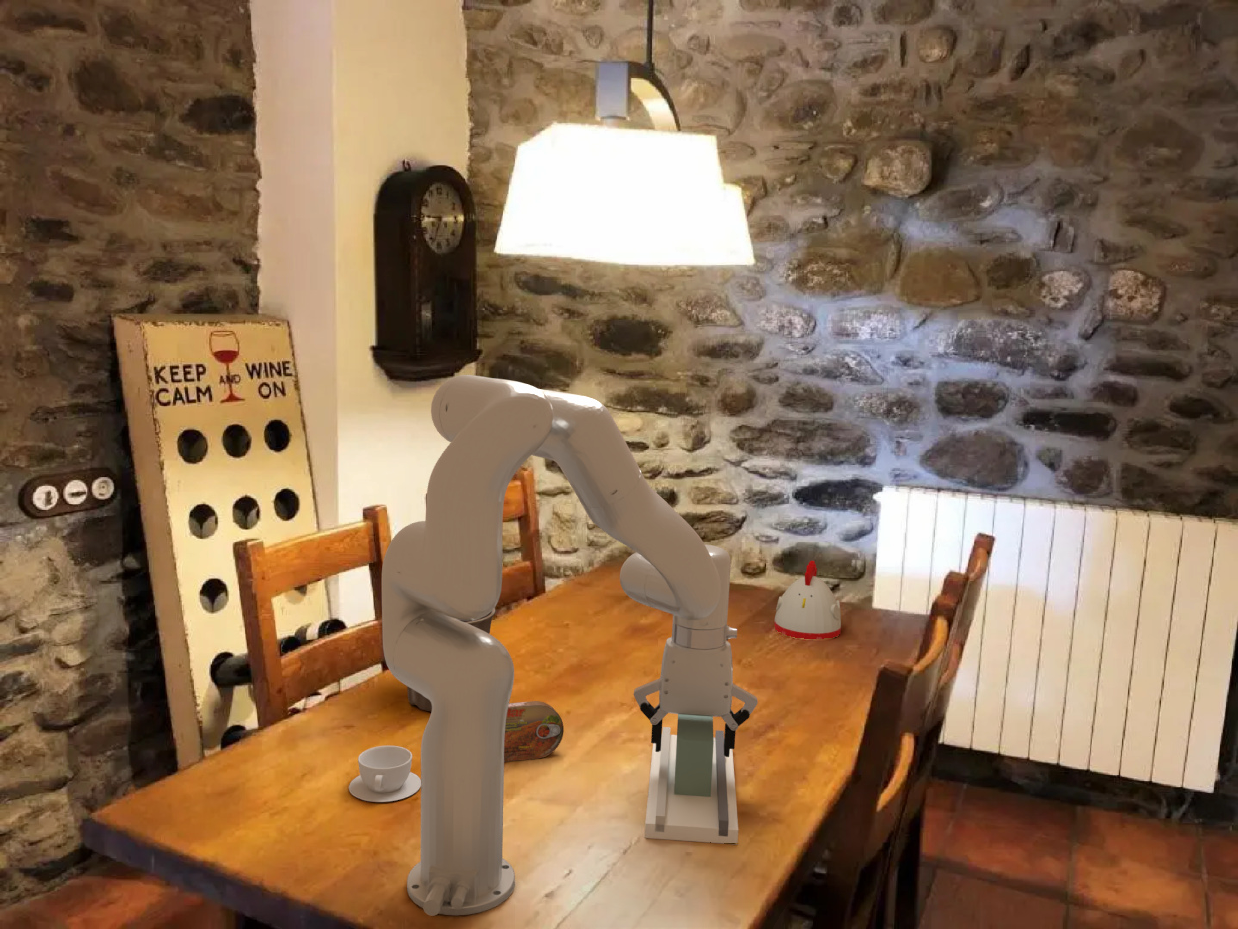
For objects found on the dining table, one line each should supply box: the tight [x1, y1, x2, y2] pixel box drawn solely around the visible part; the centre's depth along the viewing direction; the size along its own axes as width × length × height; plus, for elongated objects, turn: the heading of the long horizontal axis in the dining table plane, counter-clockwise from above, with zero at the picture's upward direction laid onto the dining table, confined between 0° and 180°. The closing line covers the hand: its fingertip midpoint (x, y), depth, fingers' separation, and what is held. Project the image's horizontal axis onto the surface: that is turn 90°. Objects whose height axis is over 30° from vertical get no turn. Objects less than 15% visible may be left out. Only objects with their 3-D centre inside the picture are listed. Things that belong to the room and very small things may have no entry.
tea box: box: [674, 714, 715, 797], centre depth 150 cm, size 5×11×8 cm, turn 176°
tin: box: [504, 700, 565, 763], centre depth 159 cm, size 15×3×8 cm, turn 105°
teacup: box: [348, 745, 421, 803], centre depth 148 cm, size 10×10×5 cm
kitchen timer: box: [773, 560, 842, 639], centre depth 223 cm, size 14×14×15 cm
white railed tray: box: [644, 726, 739, 844], centre depth 150 cm, size 28×12×3 cm, turn 176°
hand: (692, 750), depth 149 cm, fingers open, 9 cm apart
